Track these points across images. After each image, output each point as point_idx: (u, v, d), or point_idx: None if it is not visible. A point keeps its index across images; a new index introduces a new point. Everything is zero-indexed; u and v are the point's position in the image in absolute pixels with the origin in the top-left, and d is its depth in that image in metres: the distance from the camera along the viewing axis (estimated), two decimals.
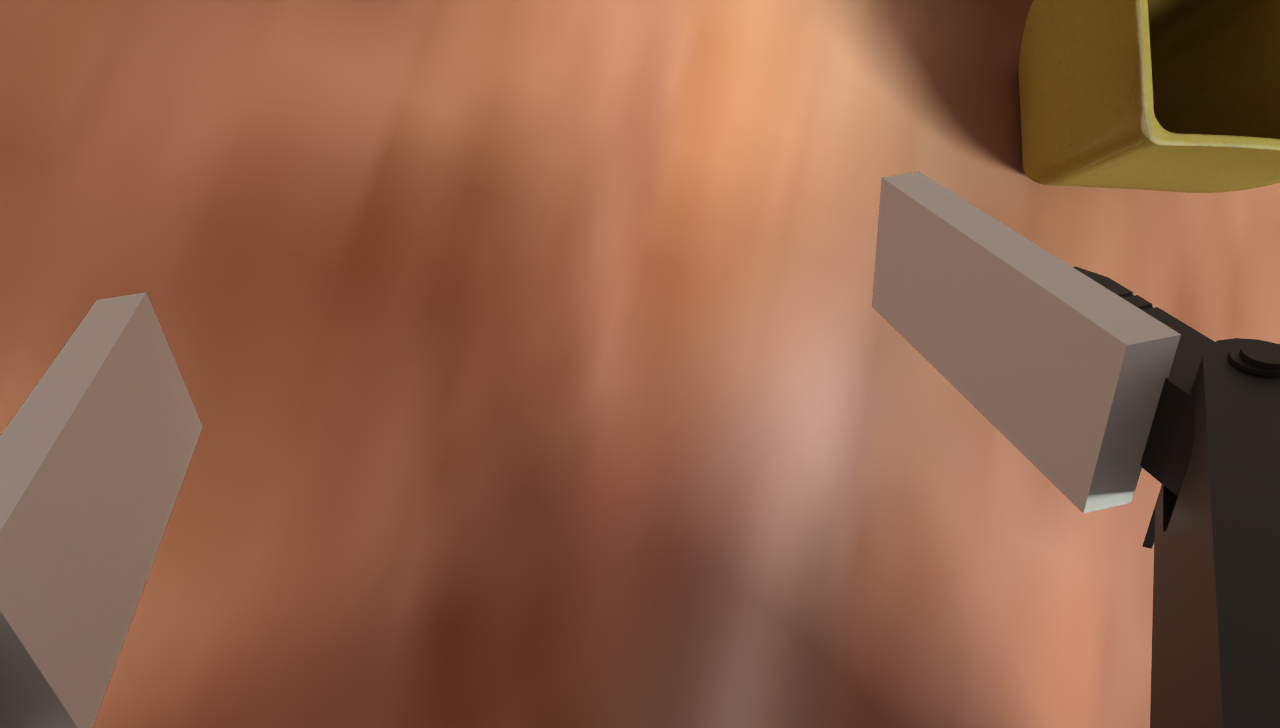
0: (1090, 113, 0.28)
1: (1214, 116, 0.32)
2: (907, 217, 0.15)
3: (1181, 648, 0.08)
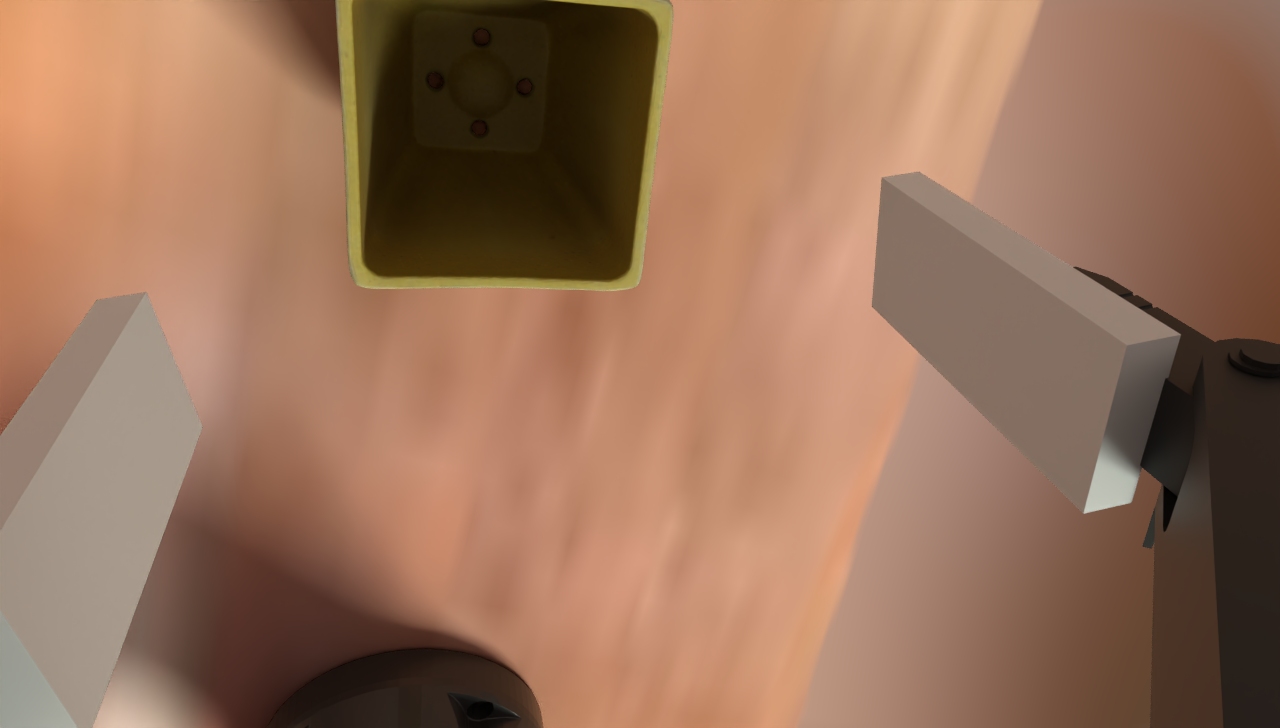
0: None
1: (586, 130, 0.30)
2: (907, 217, 0.15)
3: (1181, 648, 0.08)
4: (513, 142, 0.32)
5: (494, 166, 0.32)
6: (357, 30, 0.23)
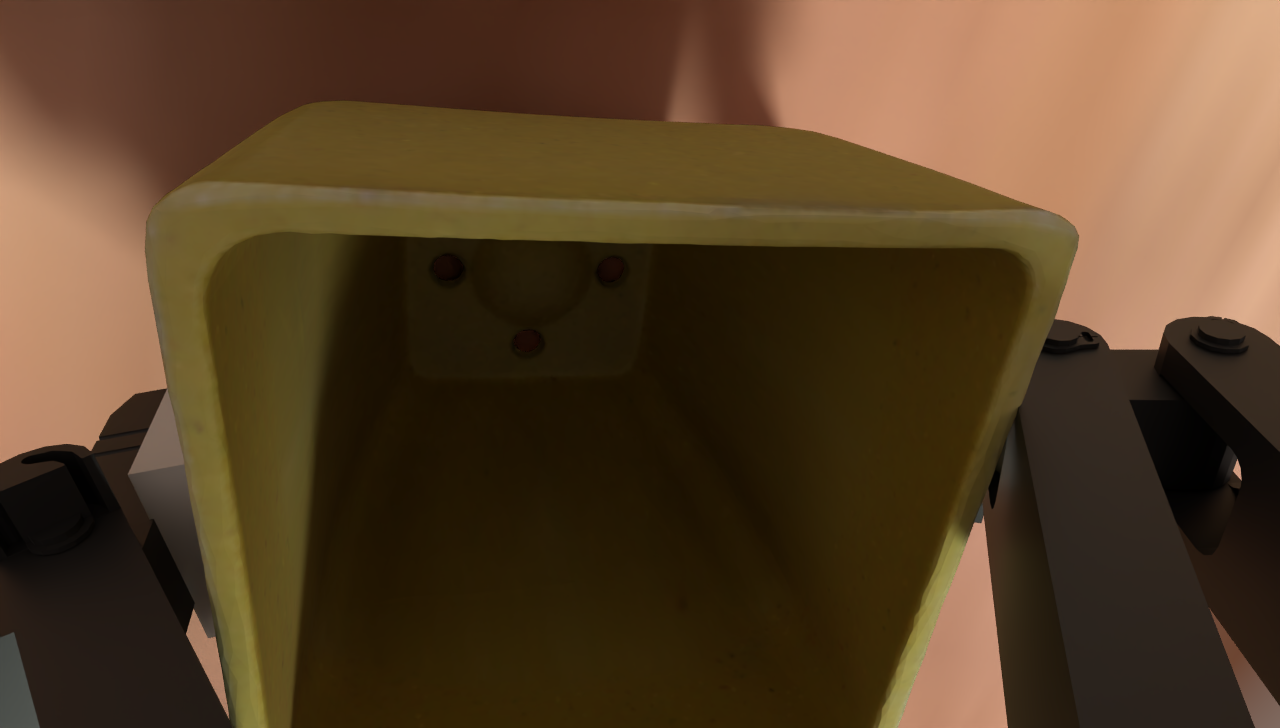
0: None
1: (737, 372, 0.16)
2: None
3: (1024, 625, 0.09)
4: (587, 361, 0.18)
5: (555, 411, 0.18)
6: (242, 325, 0.08)
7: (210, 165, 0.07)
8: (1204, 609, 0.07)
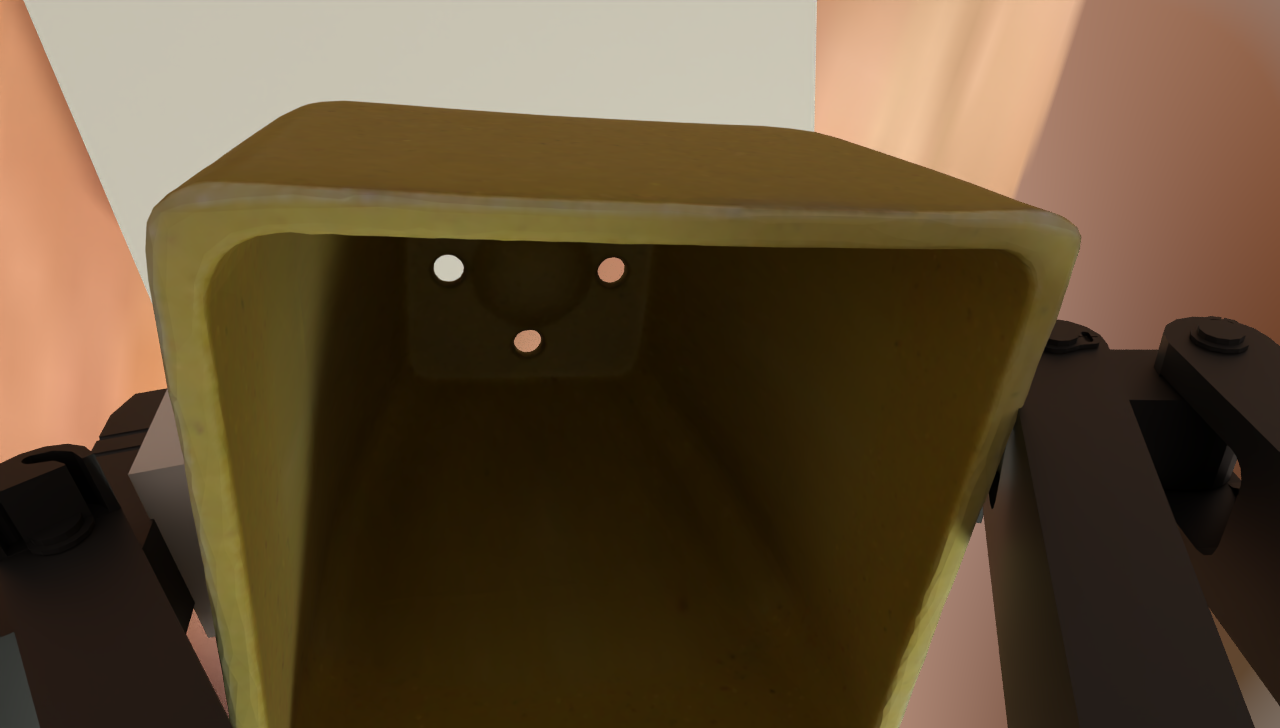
0: None
1: (738, 373, 0.16)
2: None
3: (1024, 625, 0.09)
4: (588, 362, 0.18)
5: (555, 412, 0.18)
6: (242, 326, 0.08)
7: (210, 166, 0.07)
8: (1203, 609, 0.07)
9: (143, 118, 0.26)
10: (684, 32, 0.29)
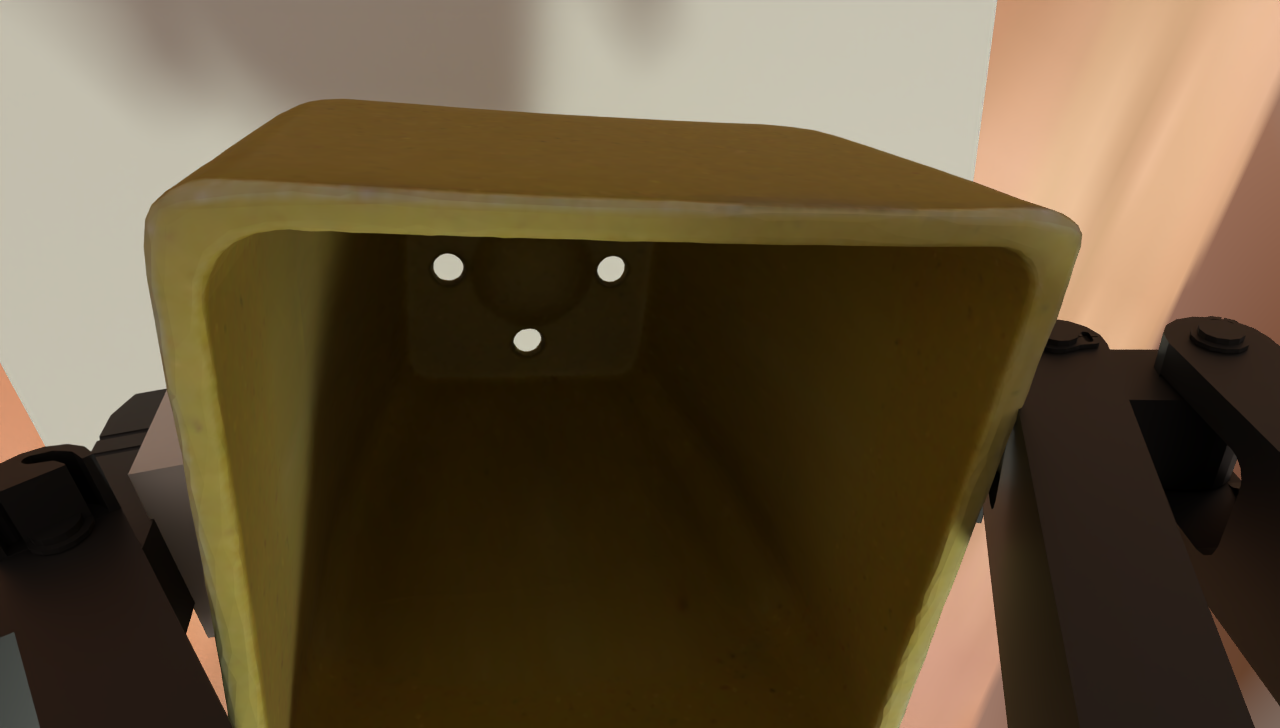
0: None
1: (738, 372, 0.16)
2: None
3: (1024, 625, 0.09)
4: (588, 361, 0.18)
5: (555, 411, 0.18)
6: (241, 323, 0.08)
7: (209, 163, 0.07)
8: (1204, 609, 0.07)
9: (52, 266, 0.19)
10: None
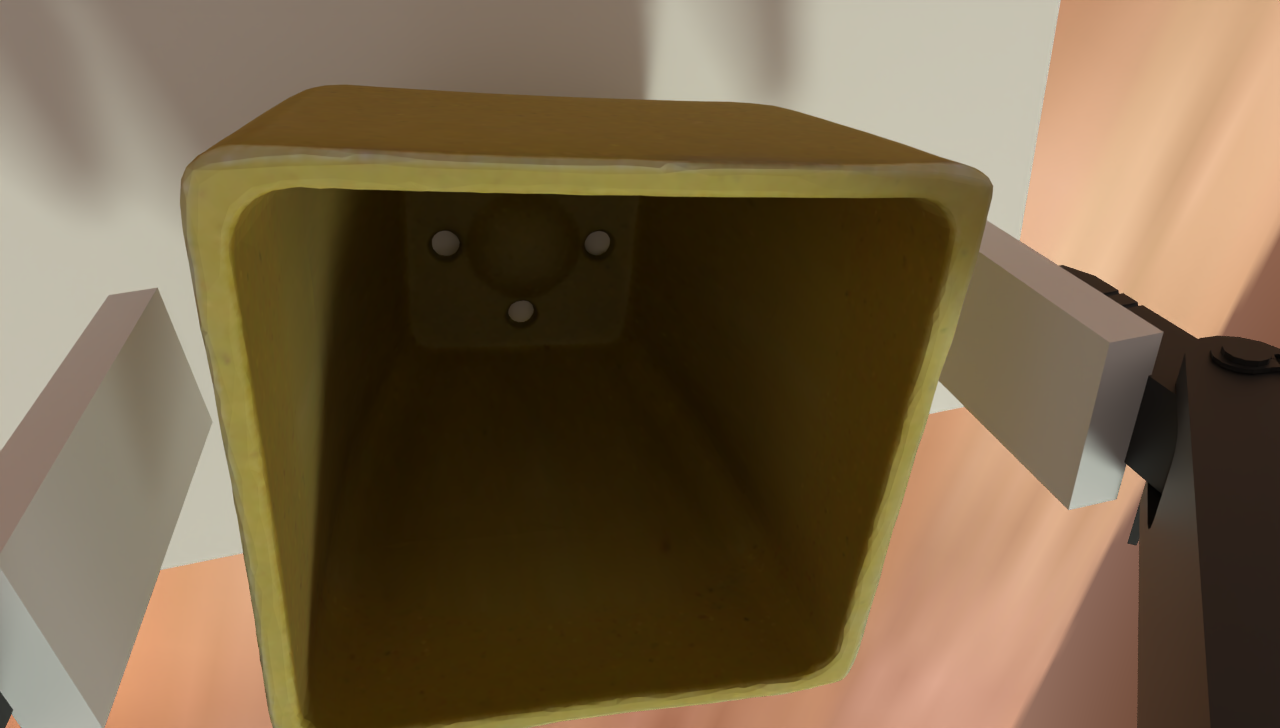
0: None
1: (715, 334, 0.17)
2: None
3: (1167, 645, 0.08)
4: (578, 330, 0.19)
5: (548, 377, 0.19)
6: (260, 275, 0.10)
7: (232, 134, 0.09)
8: None
9: (13, 306, 0.17)
10: None
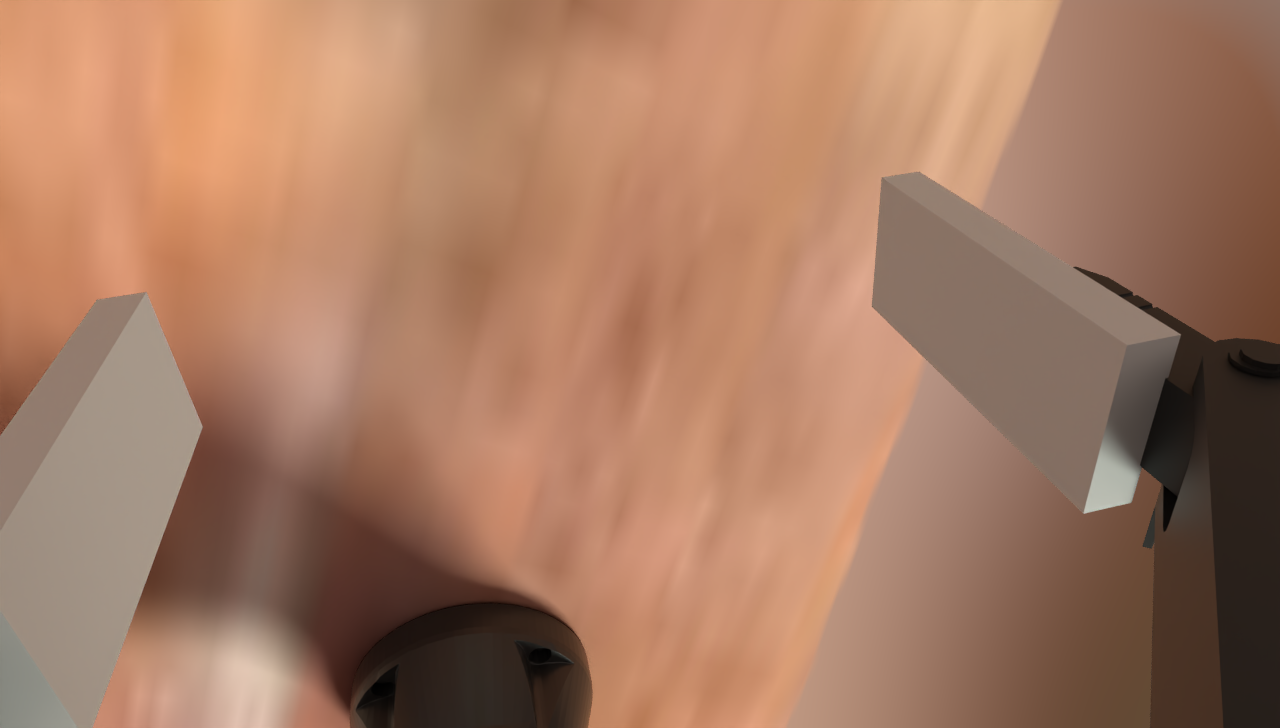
0: None
1: None
2: (907, 217, 0.15)
3: (1181, 648, 0.08)
4: None
5: None
6: None
7: None
8: None
9: None
10: None
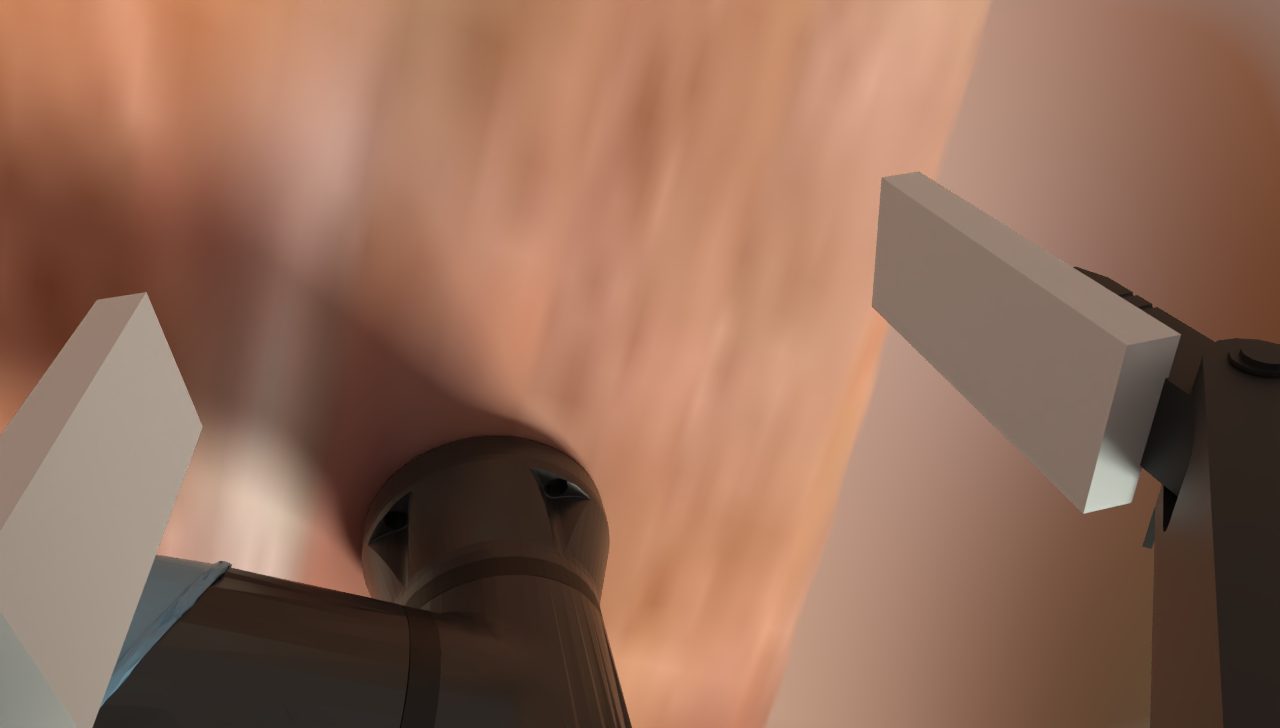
0: None
1: None
2: (907, 217, 0.15)
3: (1181, 648, 0.08)
4: None
5: None
6: None
7: None
8: None
9: None
10: None
